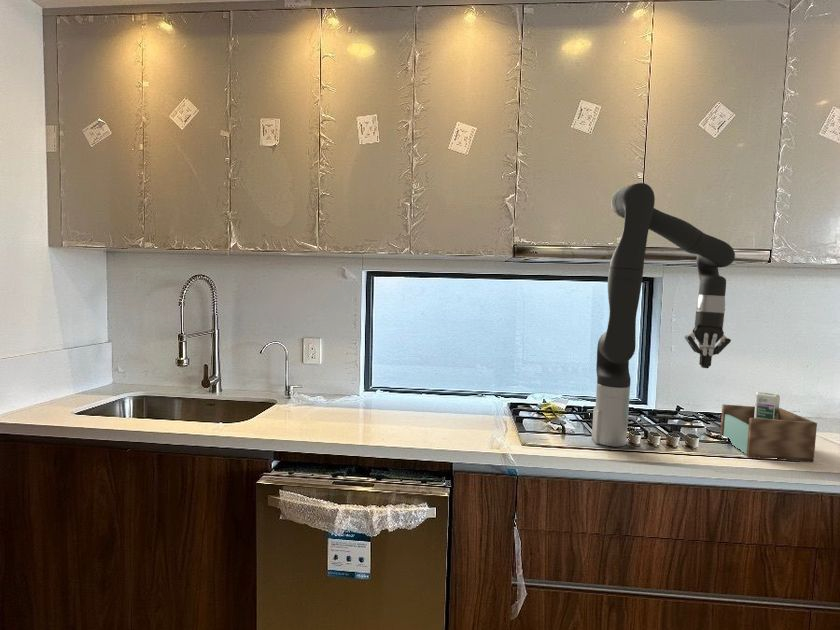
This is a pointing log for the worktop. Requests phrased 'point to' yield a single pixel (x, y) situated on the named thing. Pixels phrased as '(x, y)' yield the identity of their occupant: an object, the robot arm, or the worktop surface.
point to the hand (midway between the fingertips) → (704, 367)
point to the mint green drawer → (736, 432)
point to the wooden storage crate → (775, 434)
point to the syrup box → (766, 405)
